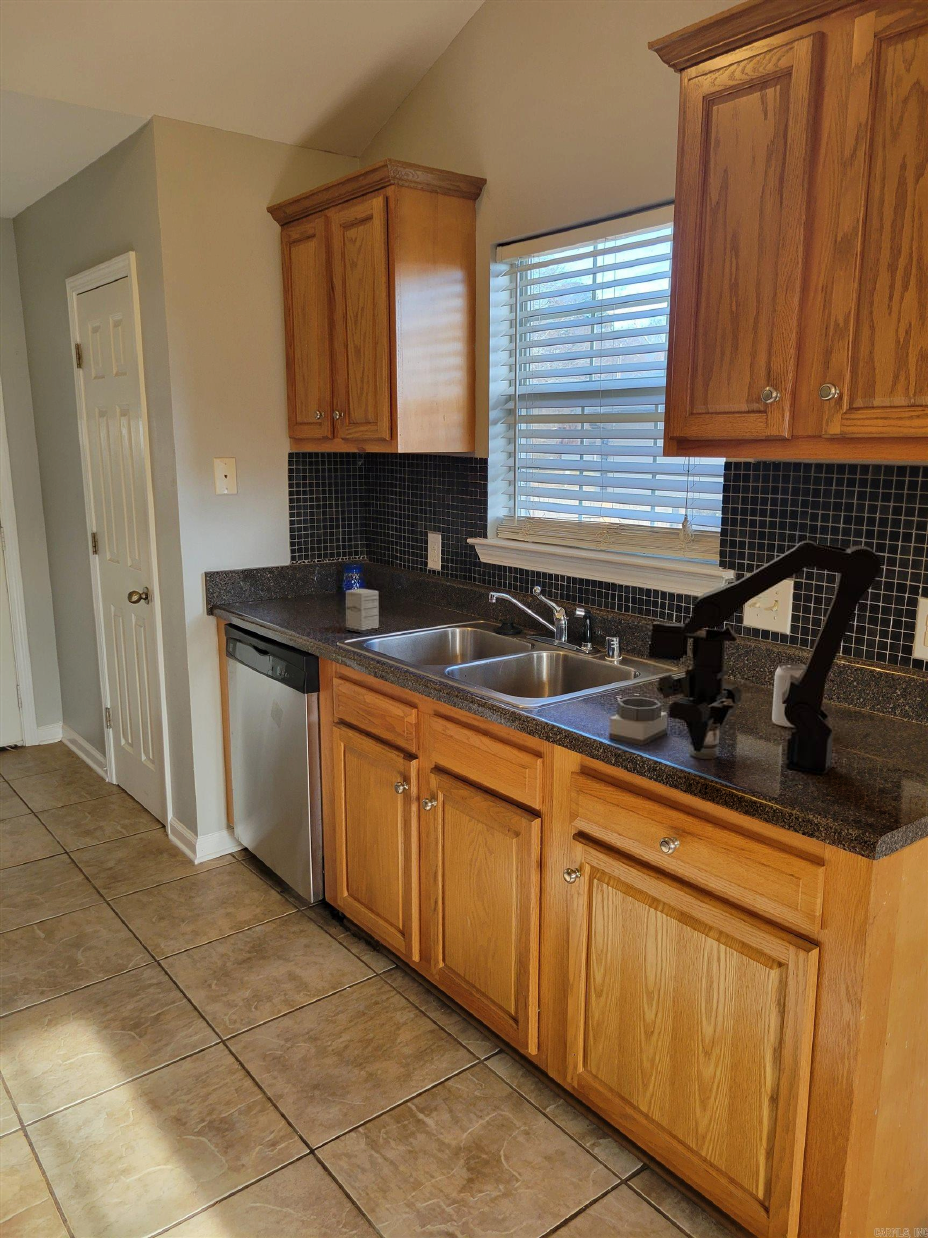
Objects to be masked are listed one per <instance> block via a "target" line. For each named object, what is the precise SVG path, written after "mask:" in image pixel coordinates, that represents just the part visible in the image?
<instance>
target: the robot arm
mask: <svg viewBox="0 0 928 1238" xmlns="http://www.w3.org/2000/svg"><path fill="white" fill-rule="evenodd" d="M808 567H813V568H817V569H820V570H824V571H828V572H833V573H836V574H837V577H836V584H835V590H834V595H833V597H832V600H831V603H830V605H829V608H828V609H827V613H826V615H825V617H824V620H823V622H822V625H821V627H820V630H819V632H818V635H817V638H816V640H815V642H814V645H813V647H812V650H811V653H810V655H809V657H808V660H807V662H806V665H805V666H806V667H805V669H804V670H803V672H802V673H801V674H800V675H799V677H798V678H797V677H795V676H793V675H790V678H789V683H788V687H787V688H786V690H785V691H784V692H783V693H782V704H784V715H785V717H786V719H787V721H788V722H789V723H790V724H791V725H793V726H795V728H794V729H792V730H791V731H790V732H791V733H790V736H789V738H787V743H786V744H787V745H786V757H785V758H786V763H785V768H789V769H793V770H797V771H803V772H808V773H811V774H817V775H825V774H826V773H827V772H828V771H829V770H830V769H832V768H833V767H834V766H835V762H833V761H832V752H833V742H834V734H833V730H832V729H833V728H832V723H831V718H830V715H828V713H827V712H826V711H825V710H824V709H823V708H822V707H823V702H824V701H823V700H824V696H825V688H826V682H827V679H828V675H829V674H830V672H831V669H832V666H833V664H834V662H835V659H836V657H837V655H838V651H839V649H840V647H841V644H842V642H843V640H844V637H845V635H846V633H847V630H848V627H849V625H850V623H851V621H852V618H853V616H854V613H855V611H856V609H857V606H858V605H859V603H860V602H861V600H862V599H863V598H864V597H865V595H867V593H868V592H869V589H870V588H871V586H872V585H873V584H874V582H875V581H876V579H877V577H878V576H879V575H880V572H881V567H882V563H881V560H880V558H879V556H878V554H876V553H875V551H874V550H872V549H871V548H870V547H868V546H865V545H853V546H851V547H849V548H845V547H842V546H835V545H829V544H823V543H818V542H814V541H812V540H803V541H800V542H799V543H797V545H795V546H794V547H793V548H791V549H790V550H788V551H786V552H784V553H783V554H781V555H780V556H778V557H776V558H775V559H773V560H771V561H770V562H768V563H766V564H764V565H762V566H761V567H760V568H758V569H756V570H754V571H753V572H751V573H749V574H748V575H746V576H744V577H742V578H741V579H740V580H737V581H734V582H732V583H728V584H725V585H723V586H719V587H717V588H715V589H712V590H710V591H706V592H704V593H703V594H702V595H700V596H699V597H698V599H697V600H696V601H695V604H694V606H693V610H692V614H691V616H690V617H689V618H686V620H685V621H684V623H683V624H679V623H666V622H662V621H654V622H653V623H652V624H651V633H650V641H649V642H648V657H649V660H656V661H668V662H669V661H670V662H682V661H683V659H684V657H688V656H689V654H690V639H692V647H691V649H692V650H691V651H692V652H691V667H688V668H686V670H685V673H684V674H681V675H675V676H672V675H671V674H669V675H666V676H665V675H664V676H660V677H659V679H658V682H657V688H656V691H657V692H658V693H660V694H661V695H662V696H663V697H662V698H663V699H665V700H666V699H669V698H670V697H673V696H674V697H675V696H678V695H682V697H681V698H679V699H676V700H674V701H673V702H671V703H670V704H669V705H668V707H667V708H668V711H667V717H668V718H672V719H677V720H682V721H683V722H684V723H685V725H686V726H687V730H688V733H689V738H690V737H691V741H692V744H693V748H694V751H697V752H700V751H701V749H702V747H703V745H704V742H705V740H706V737H707V735H708V732H709V730H710V727H711V725H712V722H713V720H716V721H718V722H720V729H719V733H720V732H721V730H722V728H723V726H724V725H725V723H726V722H727V720H728V718H729V716H730V714H731V713H732V711H733V710H734V708H735V706H734V705H731V704H728V701H727V700H731V702H732V704H735V705H736V704H737V705H738V703H740V702H742V696H743V692H742V689H740V687H739V686H738V685H734V684H727V683H725V676H728V675H729V668H725V665H726V652H727V650H726V649H727V642H736V641H737V639H738V634H737V633H736V632H735V631H733V629H732V627H731V626H730V625H728V624H727V625H726V626H725V628H723V629H718V627H720V626H721V625H722V624H724V623H725V622H726V621H728V620H729V619H730V618H731V617H732V616H734V614H736V613H737V612H738V611H739V610H740V609H741V608H742V607H743V606H744V605H746V604H747V603H748V602H749V601H750V600H752V599H754V598H755V597H757V596H759V595H761V594H763V593H764V592H766V591H767V590H769V589H772V588H774V587H775V586H776V585H779V584H780V583H781V582H783V581H785V580H787V579H788V578H790V577H792V576H794V575H796V574H797V573H798V572H801V571H802V570H804V569H806V568H808ZM705 628H706V630H705V632H699V631H701V630H703V629H705ZM716 628H717V629H716ZM690 698H691V699H690Z"/></svg>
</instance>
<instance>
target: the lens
mask: <svg viewBox="0 0 928 1238" xmlns="http://www.w3.org/2000/svg"><path fill="white" fill-rule="evenodd" d="M719 729H720V722H718V721H716V720H713V722H712V725H711V727H710V730H709V732H708V735H707V737H706V740H705V742H704V745H703V747H702V749H701V751H700V752H697V751H694V748H693V744H692V741H691V737H690V736H689V740H688V741H689V748H688V749H689V752H688V753H689V755H690V756H692V757H694V758H697V759H705V760H708V759H715V758H717V757H718V755H719V744H720V742H719V739H720V738H719V737H720V732H719Z"/></svg>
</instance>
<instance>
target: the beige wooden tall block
mask: <svg viewBox="0 0 928 1238" xmlns="http://www.w3.org/2000/svg"><path fill="white" fill-rule="evenodd" d="M379 611H380V610H379V591H378V590H374V589H368V588H356V589H349V590H348V589H347V590H346V591H345V628H346V627H349V628H354V629H359V630H366V629H371V628H378V627H380V626H379V625H380V623H379Z"/></svg>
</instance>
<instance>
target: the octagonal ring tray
mask: <svg viewBox="0 0 928 1238" xmlns="http://www.w3.org/2000/svg"><path fill="white" fill-rule="evenodd" d="M616 705H617V707H616V709H617V710H616V711H617V712H616V715H614V716H613V715H612V716H611V717H609V733H608V739H614V740H617V741H621V742H626V743H631V744H635V745H640V746H643V745H645V744H647V743H649V742H651V741H653V740H655V739H658V738H659V737H661V736H663V735H665V734H666V733H668V732H667V730H668V724H667V722H668V712H663V711H662V703H661V702H659V701H658V700H656V699H652V698H647V697H636V696H635V697H624V698H621V699H619V700H618V701H617V703H616Z"/></svg>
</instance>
